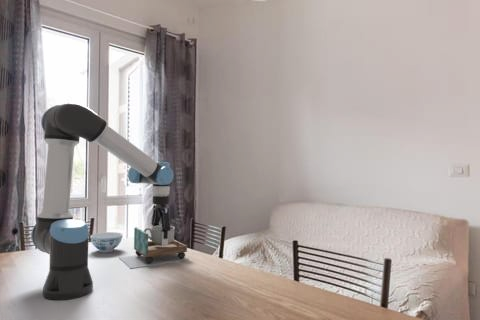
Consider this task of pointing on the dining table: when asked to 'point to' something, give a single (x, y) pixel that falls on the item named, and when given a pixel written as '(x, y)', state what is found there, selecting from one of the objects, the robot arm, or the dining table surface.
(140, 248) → the cart
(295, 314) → the dining table surface
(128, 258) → the track mat
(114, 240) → the chinaware
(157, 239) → the teacup
